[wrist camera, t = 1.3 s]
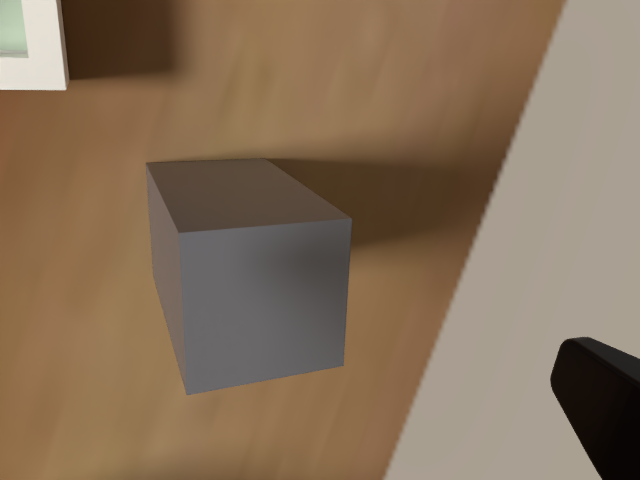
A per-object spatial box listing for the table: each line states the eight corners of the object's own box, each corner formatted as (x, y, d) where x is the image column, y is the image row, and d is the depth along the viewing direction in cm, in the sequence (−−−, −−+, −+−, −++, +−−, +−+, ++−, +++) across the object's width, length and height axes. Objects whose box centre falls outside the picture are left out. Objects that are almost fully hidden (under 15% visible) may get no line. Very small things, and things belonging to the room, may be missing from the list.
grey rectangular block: (264, 264, 23) (343, 365, 16) (153, 276, 21) (186, 395, 14) (264, 158, 21) (352, 218, 14) (145, 162, 20) (178, 232, 13)
